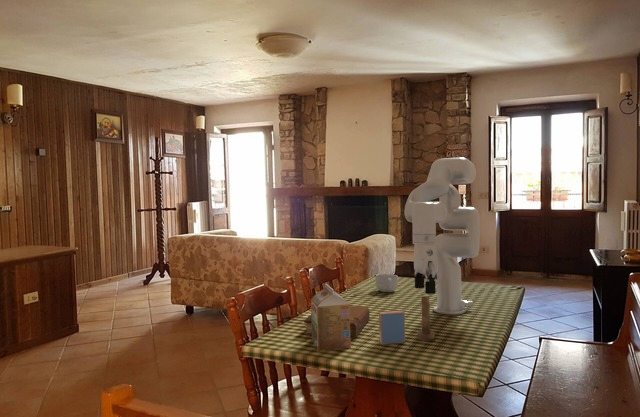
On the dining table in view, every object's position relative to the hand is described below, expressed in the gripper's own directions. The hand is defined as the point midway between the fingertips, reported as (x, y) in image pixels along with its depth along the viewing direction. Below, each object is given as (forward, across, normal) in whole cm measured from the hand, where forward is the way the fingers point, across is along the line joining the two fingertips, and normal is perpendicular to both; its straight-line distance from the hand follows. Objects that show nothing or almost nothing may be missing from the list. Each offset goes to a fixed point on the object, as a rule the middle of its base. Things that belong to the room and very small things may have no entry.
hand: (424, 290), depth 155 cm
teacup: (+15, +73, -8) cm, 75 cm away
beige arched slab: (+17, +21, +26) cm, 37 cm away
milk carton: (+17, +3, +31) cm, 36 cm away
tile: (+16, 0, +12) cm, 20 cm away
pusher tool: (+16, +1, 0) cm, 16 cm away
